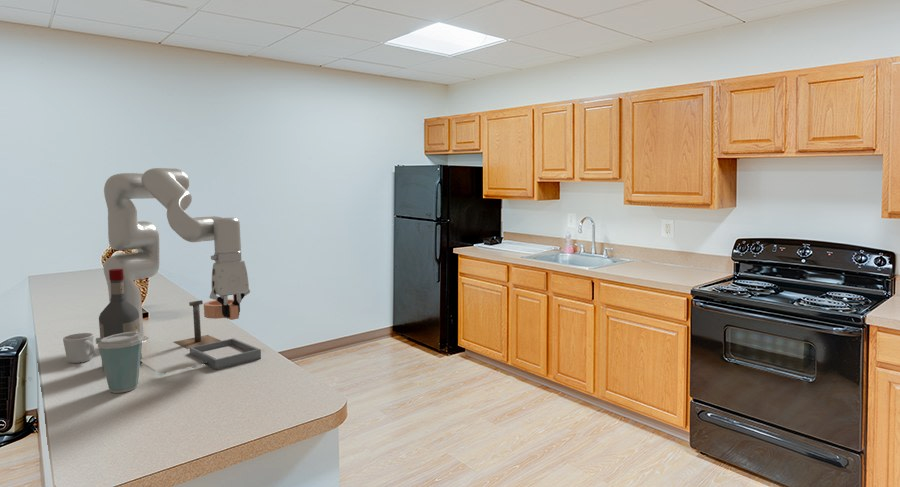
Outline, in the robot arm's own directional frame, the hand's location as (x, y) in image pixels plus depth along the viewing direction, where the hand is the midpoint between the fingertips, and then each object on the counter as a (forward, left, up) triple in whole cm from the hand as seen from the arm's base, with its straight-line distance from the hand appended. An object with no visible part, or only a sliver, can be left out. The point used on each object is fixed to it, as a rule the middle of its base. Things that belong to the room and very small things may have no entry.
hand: (231, 315), depth 170 cm
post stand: (0, +26, -15) cm, 30 cm away
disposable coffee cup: (-31, 0, -15) cm, 34 cm away
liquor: (-25, +21, -15) cm, 36 cm away
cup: (-32, +35, -15) cm, 50 cm away
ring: (0, +5, -1) cm, 5 cm away
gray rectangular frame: (0, +5, -15) cm, 16 cm away
